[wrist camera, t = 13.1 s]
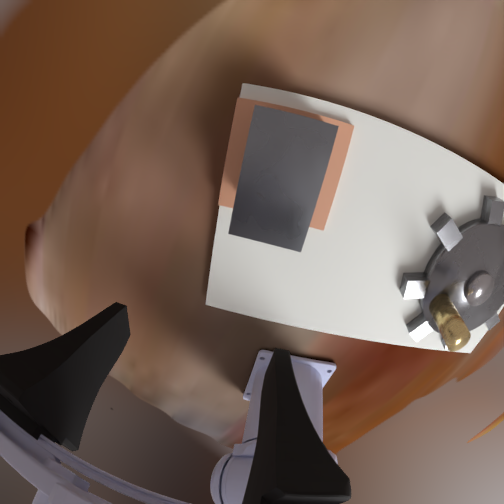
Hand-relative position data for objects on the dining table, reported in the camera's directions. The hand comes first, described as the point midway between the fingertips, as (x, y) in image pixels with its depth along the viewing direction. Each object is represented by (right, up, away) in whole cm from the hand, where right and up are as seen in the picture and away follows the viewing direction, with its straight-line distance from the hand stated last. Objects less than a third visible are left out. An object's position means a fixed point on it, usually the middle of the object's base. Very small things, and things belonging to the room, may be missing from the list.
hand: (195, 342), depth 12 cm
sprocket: (+21, +2, +6) cm, 22 cm away
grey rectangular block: (+4, +9, +4) cm, 11 cm away
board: (+15, +4, +7) cm, 17 cm away
